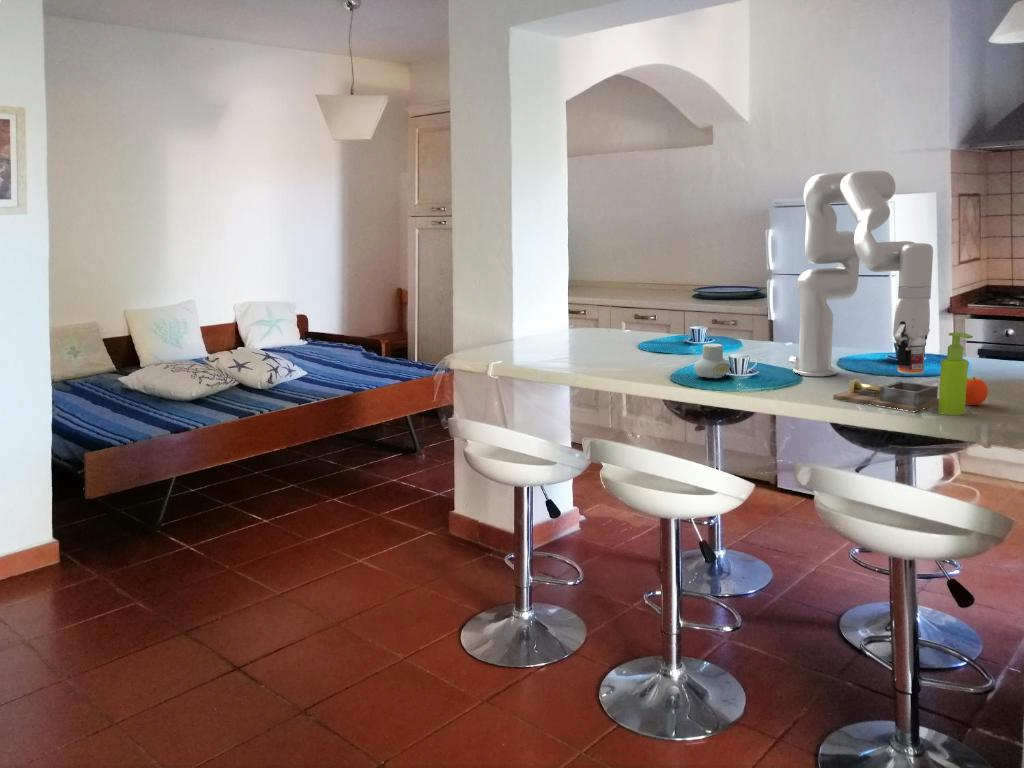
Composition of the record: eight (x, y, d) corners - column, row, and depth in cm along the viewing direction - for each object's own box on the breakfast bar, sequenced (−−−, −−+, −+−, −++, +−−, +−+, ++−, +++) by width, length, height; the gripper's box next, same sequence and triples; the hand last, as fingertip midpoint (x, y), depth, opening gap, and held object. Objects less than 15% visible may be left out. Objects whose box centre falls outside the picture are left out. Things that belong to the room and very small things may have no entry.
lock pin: (849, 391, 243) (849, 380, 242) (855, 389, 245) (855, 378, 244) (881, 396, 236) (882, 385, 235) (887, 394, 238) (887, 383, 237)
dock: (833, 399, 241) (834, 382, 240) (861, 390, 249) (862, 374, 248) (913, 412, 224) (914, 394, 223) (940, 403, 233) (941, 385, 232)
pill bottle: (902, 369, 234) (904, 327, 232) (927, 371, 230) (929, 329, 228) (893, 373, 230) (895, 330, 228) (918, 375, 226) (920, 332, 224)
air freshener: (707, 382, 268) (707, 348, 266) (689, 377, 275) (689, 345, 273) (735, 377, 273) (736, 344, 271) (717, 373, 280) (717, 341, 278)
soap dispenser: (956, 417, 218) (961, 335, 214) (932, 411, 224) (937, 332, 220) (973, 414, 220) (979, 333, 216) (949, 408, 227) (954, 330, 222)
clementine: (953, 407, 228) (955, 379, 227) (950, 401, 234) (952, 374, 233) (988, 408, 225) (990, 380, 224) (985, 402, 232) (987, 375, 230)
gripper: (917, 289, 234) (913, 357, 238) (882, 295, 224) (879, 366, 227) (945, 290, 229) (941, 360, 232) (911, 297, 218) (907, 370, 222)
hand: (910, 362), depth 230 cm, fingers closed on pill bottle, 6 cm apart
